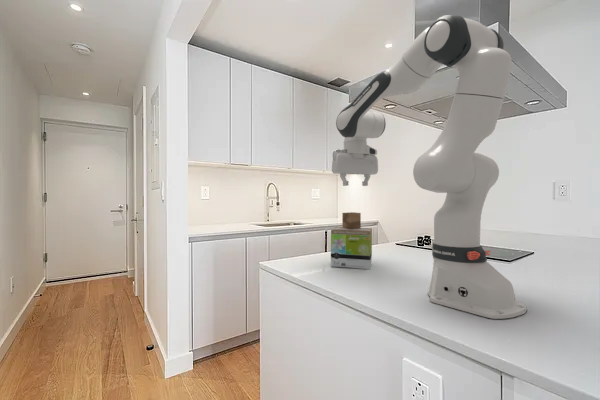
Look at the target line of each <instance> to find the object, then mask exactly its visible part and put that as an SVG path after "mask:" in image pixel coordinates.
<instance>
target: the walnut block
mask: <svg viewBox="0 0 600 400" xmlns="http://www.w3.org/2000/svg"><path fill="white" fill-rule="evenodd" d="M361 213H362V212H352V211H349V212H342V213H341V214H342V218H341V219H342V227H343V228H346V229H359V228H362V226H361V224H362V223H361V222H362V221H361V219H362V218H361V217H362V216H361Z"/></svg>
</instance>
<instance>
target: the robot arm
mask: <svg viewBox="0 0 600 400" xmlns="http://www.w3.org/2000/svg"><path fill="white" fill-rule="evenodd" d="M504 45H505V44H504V39H503V38H502V36H501V34H500V33H498V31H496V30H495V29H493V28H491V27H488V26H486V25H484V24H483V23H481V22H480V21H477V20H474V19H473V18H472V19H471V18H468V17H463V16H461V15H458V14H446V15H442V16H440V17H438V18H437V19H436V20H434V21H433V22H432V24H431V25H430V26H428V27H426V28H425V29H424V30H423V31H422V32H421V33H419V34H418V36H416V38H415V39H414V40H413V41H412V42H411V43H410V44H409V46H408V47H407V48H406V49H405V50H404V52H403V53H402V54H401V56H400V57H399V58H398V59H397V60H396V61H395V62H394V63H393V64H392V65H390V66H389V68H387V69H385V70H384V71H381V72H380V73H379V74H377V75H375V77H374V78H373V79H372V80H371V81H370V82H369V83H368V84H367V85H366V87H365V88H363V90H361V92H360V93H359V94H358V95H357V96H356V97H355V99H354V100H353V101H352V102H350V104H349V105H347V106H346V107H344V108H343V109H342V110H341V111H340V112H339V114H338V116H337V117H336V121H335V125H336V129H337V131H338V132H339V134H340V135H341V136H342V137H344V139H343V149H339V148H336V149H335V150H333V151H332V161H331V163H332V164H331V172H332V174H336V175H339V176H340V179H341V181H342V186H345V187H347V186H349V180H347V178H346V177H347V175H363V177H364V180H363V181H361V183H362V184H361V185H362V186H363V187H367V186H369V181H370V178H371V176H372V175H377V174H378V172H379V161H378V157H377V155H378V150H377V149H375V148H374V147H372V146H370V145H368V144H367V143H368V142H367V139H378V138H379V137H381V136H383V133H385V130H386V123H387V122H386V118H385V117H384V115H383V113H381V112H378V111H373V110H371V109H372V108H373V107H374V106H375V105H376V104H377V103H378V102H379V101H381V100H382V99H386V98H388V97H393V96H399V95H400V96H401V95H409V94H414V93H415V92H418V90H420V89H421V88H422V87H424V86H425V85H426V84H427V83H428V81H429V80H430V79H431V78H432V77H433V76H434V75H435V73H436V72H437V71H438V70H439V69H440V68H441V67H442V66H443V65H444V66H446V67H449V68H453V69H456V70H457V72H458V82H457V86H456V89H455V92H454V95H453V96H454V97H453V100H452V104H451V106H450V110H449V113H448V117H447V120H446V123H445V124H444V127H443V129H442V131H441V133H440V135H439V136H438V138H437V139H436V141H435V142H434V143H433V144H432V146H431V147H430V148H429V149H428V150H427V151H426V152H424V153H423V154H421V155H420V156H419V157H417V160H415V163H414V164H413V172H412V175H413V179H414V181H415V184H416V185H417V186H418V187H419V188H421V189H423V190H426V191H429V192H433V193H436V194H437V193H439V194H446V196H445V199H444V203H443V204H442V206H441V207H440V208H439V209H438V210H437V211H436V212H435V214H434V217H433V243H432V245H431V246H432V247H431V250H432V251H431V252H432V253H431V254H432V258H433V263H432V265H433V266H432V274H431V280H430V283H429V284H430V285H429V288H428V291H427V295H428V296H429V297H430V298H429V301H430V302H431V303H432V304H433V303H434V304H437V305H441V306H445V307H448V308H452V309H456V310H459V311H463V312H466V313H470V314H473V315H477V316H480V317H483V318H488V319H494V320H498V319H499V320H502V319H504V320H505V319H511V318H515V317H519V316H522V315H524V314H525V313H526V312H527V305H526V304H525V303H523V302H519V301H517V300H516V295H515V290H514V287H513V283H512V282H511V281H510V280H509V279H508V278H507V277H505V276H504V275H503V274H502V273H501V272H499V270H497V269H496V268H495V267H494V266H492V264H491V263H489V262H488V261H487V260H488V259H487V256H491V252H492V251H491V250H484V248H483V247H482V245H481V218H482V213H483V207H484V204H485V202H486V199H487V198H486V197H487V195H488V194H489V191H490V189H491V188H492V187H493V186H494V185H495V184H496V183H497V181H498V179H499V176H500V170H499V169H500V168H499V166H498V163H497V162H496V161H495V160H494V159H493V158H491V157H489V156H487V155H484V154H481V153H479V152H476V150H477V149H478V148H479V146H480V145H481V143H482V142H483V141H484V140H485V139H486V138H488V137H490V136H491V135H492V134H493V133H494V131H495V129H496V125H497V123H498V121H499V117H500V113H501V111H502V108H503V107H502V106H503V104H504V100H505V98H506V95H507V90H508V87H509V82H510V77H511V69H512V56H511V55H510V53H509V52H508V51H506V50H504Z"/></svg>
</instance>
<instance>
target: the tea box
mask: <svg viewBox="0 0 600 400" xmlns="http://www.w3.org/2000/svg"><path fill="white" fill-rule="evenodd" d="M372 237H373V228H372V227H370V228H369V227H361V228H359V229H346V228H343V226H335V227H333V228H331V230H330V266H331V267H330V268H332V267H333V268H335V267H336V268H337V267H339V268H349V269H359V270H361V269H362V270H370V268H371V265H372V257H373V255H372V254H373V249H372V248H373V247H372V246H373V238H372Z"/></svg>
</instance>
